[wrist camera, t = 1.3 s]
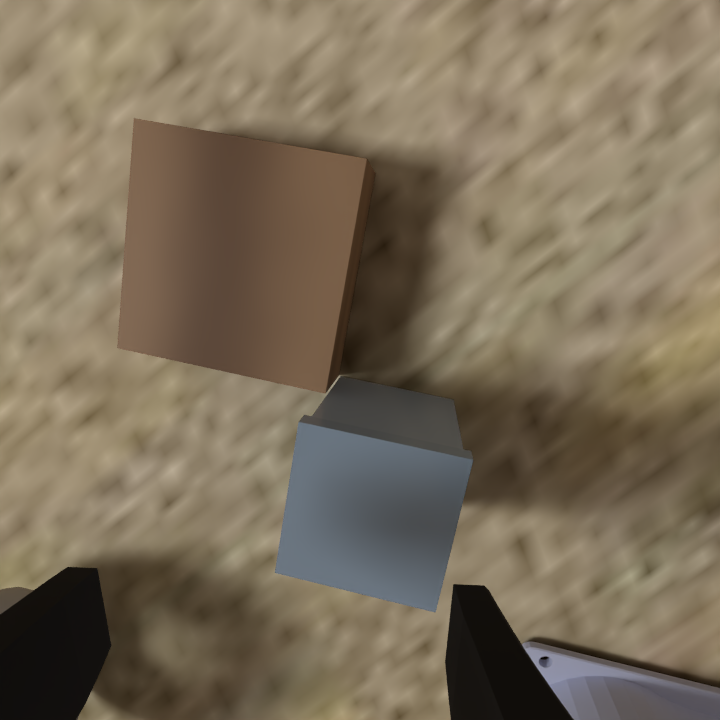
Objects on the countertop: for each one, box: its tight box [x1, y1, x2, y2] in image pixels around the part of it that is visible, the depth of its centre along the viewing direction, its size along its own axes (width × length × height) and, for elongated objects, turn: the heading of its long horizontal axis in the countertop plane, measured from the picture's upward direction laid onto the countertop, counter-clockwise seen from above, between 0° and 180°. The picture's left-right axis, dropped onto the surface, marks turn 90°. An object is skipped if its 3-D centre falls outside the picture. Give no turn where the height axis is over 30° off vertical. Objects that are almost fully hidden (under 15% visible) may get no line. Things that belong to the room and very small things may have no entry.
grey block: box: [275, 376, 473, 612], centre depth 16 cm, size 5×5×6 cm
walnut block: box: [117, 118, 376, 393], centre depth 17 cm, size 8×8×3 cm
